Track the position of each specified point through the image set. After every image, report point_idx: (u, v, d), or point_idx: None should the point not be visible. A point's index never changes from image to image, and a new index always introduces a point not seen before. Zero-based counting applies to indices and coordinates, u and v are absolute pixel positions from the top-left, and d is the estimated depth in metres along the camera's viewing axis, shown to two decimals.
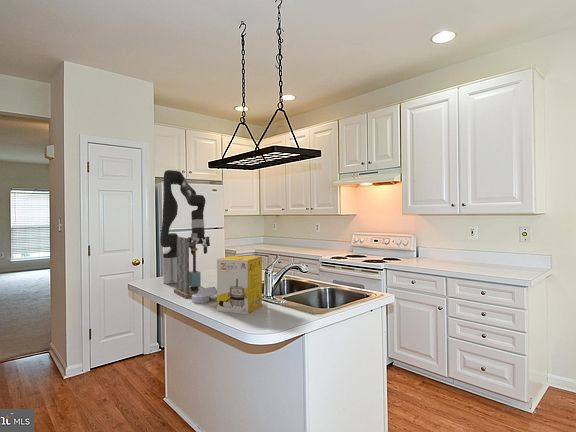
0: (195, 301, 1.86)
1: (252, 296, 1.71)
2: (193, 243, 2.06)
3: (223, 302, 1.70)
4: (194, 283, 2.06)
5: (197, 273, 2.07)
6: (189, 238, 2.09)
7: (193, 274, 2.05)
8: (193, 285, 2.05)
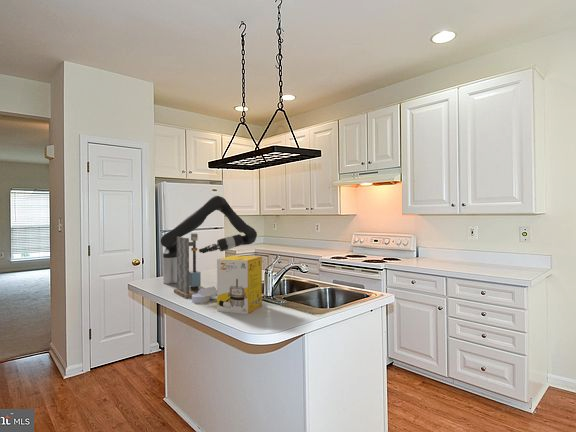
0: (195, 301, 1.86)
1: (252, 296, 1.71)
2: (193, 243, 2.06)
3: (223, 302, 1.70)
4: (194, 283, 2.06)
5: (197, 273, 2.07)
6: (219, 248, 2.10)
7: (193, 274, 2.05)
8: (193, 285, 2.05)
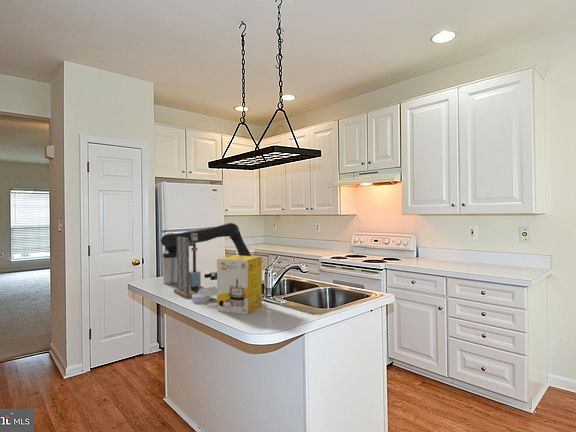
0: (195, 301, 1.86)
1: (252, 296, 1.71)
2: (193, 243, 2.06)
3: (223, 302, 1.70)
4: (194, 283, 2.06)
5: (197, 273, 2.07)
6: None
7: (193, 274, 2.05)
8: (193, 285, 2.05)
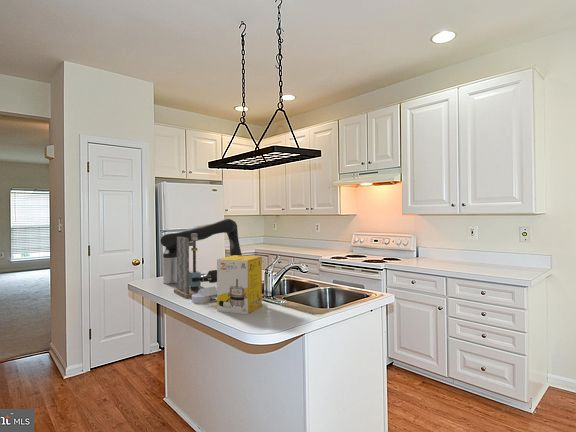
0: (195, 301, 1.86)
1: (252, 296, 1.71)
2: (193, 243, 2.06)
3: (223, 302, 1.70)
4: (194, 283, 2.06)
5: (197, 273, 2.07)
6: (210, 280, 2.07)
7: (193, 274, 2.05)
8: (193, 285, 2.05)
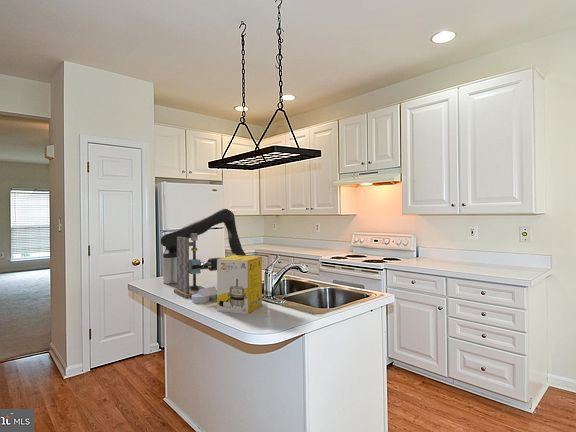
0: (195, 301, 1.86)
1: (252, 296, 1.71)
2: (193, 243, 2.06)
3: (223, 302, 1.70)
4: (194, 270, 2.06)
5: (197, 260, 2.07)
6: (210, 268, 2.07)
7: (193, 261, 2.05)
8: (193, 272, 2.05)
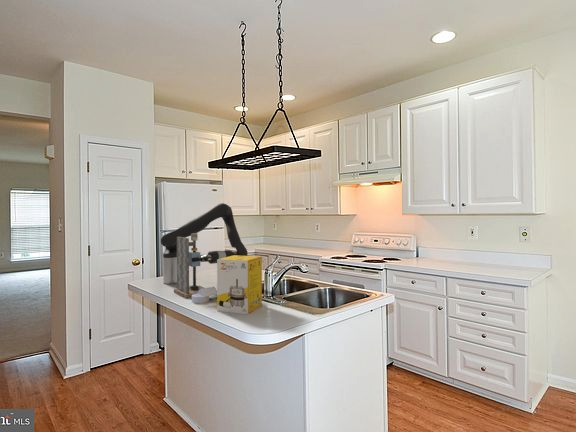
0: (195, 301, 1.86)
1: (252, 296, 1.71)
2: (193, 243, 2.06)
3: (223, 302, 1.70)
4: (194, 263, 2.06)
5: (197, 253, 2.07)
6: (210, 260, 2.07)
7: (193, 254, 2.05)
8: (193, 265, 2.05)
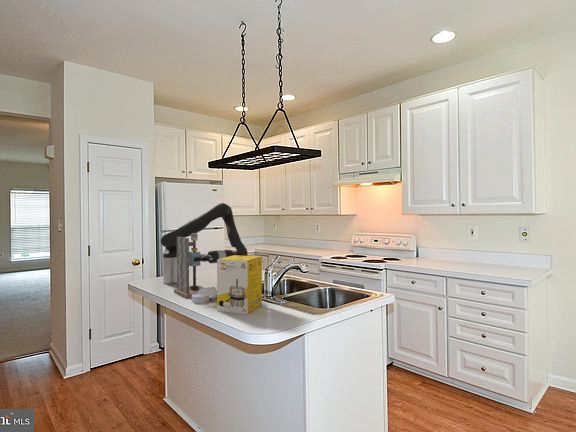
0: (195, 301, 1.86)
1: (252, 296, 1.71)
2: (193, 243, 2.06)
3: (223, 302, 1.70)
4: (194, 263, 2.06)
5: (197, 253, 2.07)
6: (211, 260, 2.08)
7: (193, 254, 2.05)
8: (193, 265, 2.05)
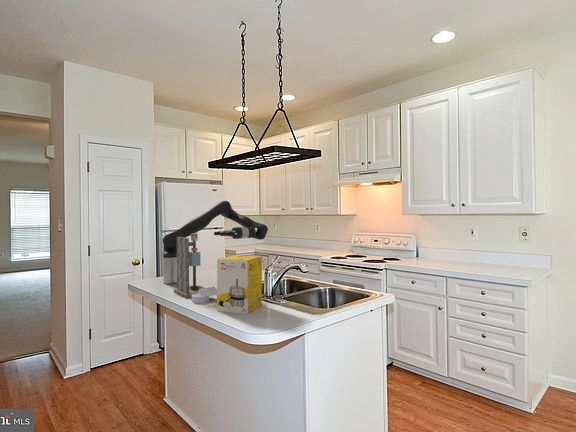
0: (195, 301, 1.86)
1: (252, 296, 1.71)
2: (193, 243, 2.06)
3: (223, 302, 1.70)
4: (194, 263, 2.06)
5: (197, 253, 2.07)
6: (236, 235, 2.21)
7: (193, 254, 2.05)
8: (193, 265, 2.05)
